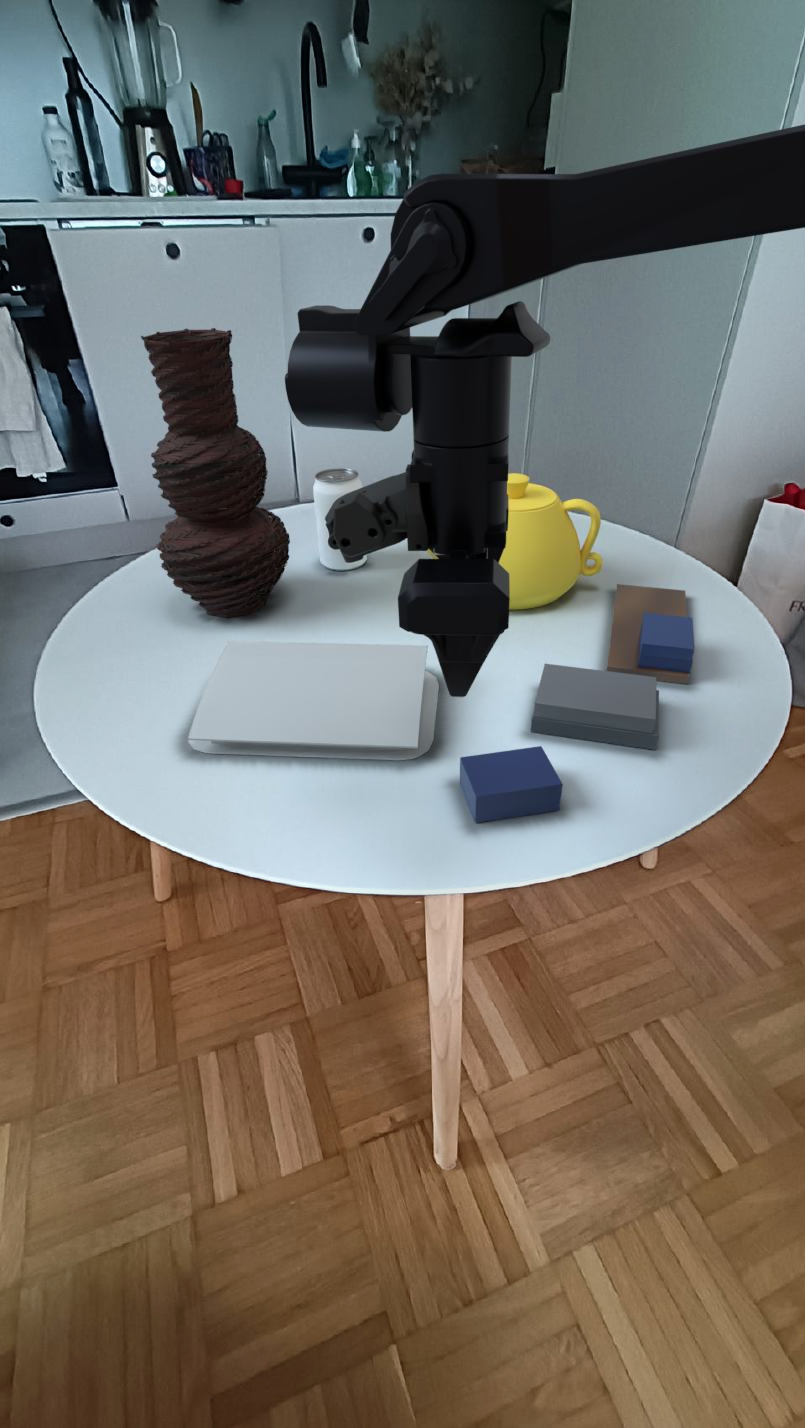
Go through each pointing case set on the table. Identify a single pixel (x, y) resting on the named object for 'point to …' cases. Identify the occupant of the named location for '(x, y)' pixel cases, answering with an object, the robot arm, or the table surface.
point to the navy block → (510, 784)
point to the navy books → (666, 643)
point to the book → (318, 701)
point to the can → (325, 494)
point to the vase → (212, 479)
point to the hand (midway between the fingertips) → (461, 660)
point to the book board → (628, 625)
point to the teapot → (544, 544)
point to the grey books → (597, 706)
